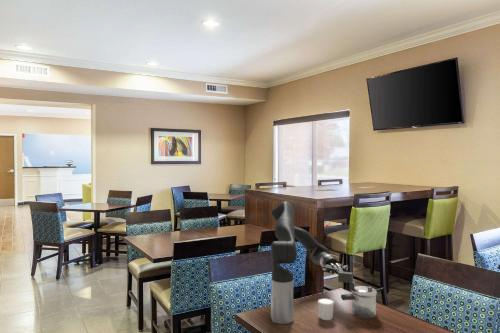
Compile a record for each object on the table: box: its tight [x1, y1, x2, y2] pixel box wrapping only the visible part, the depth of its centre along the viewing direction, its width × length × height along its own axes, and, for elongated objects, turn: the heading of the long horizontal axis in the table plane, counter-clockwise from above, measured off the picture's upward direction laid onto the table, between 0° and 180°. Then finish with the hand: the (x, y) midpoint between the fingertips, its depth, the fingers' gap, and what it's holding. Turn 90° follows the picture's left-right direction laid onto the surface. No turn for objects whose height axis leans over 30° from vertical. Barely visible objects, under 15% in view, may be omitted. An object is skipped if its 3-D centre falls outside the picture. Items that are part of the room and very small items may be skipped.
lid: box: [337, 271, 378, 297], centre depth 162 cm, size 16×11×8 cm, turn 71°
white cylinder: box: [317, 298, 335, 321], centre depth 157 cm, size 7×7×7 cm
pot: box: [340, 292, 377, 319], centre depth 161 cm, size 15×10×9 cm, turn 96°
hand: (341, 274), depth 165 cm, fingers closed
